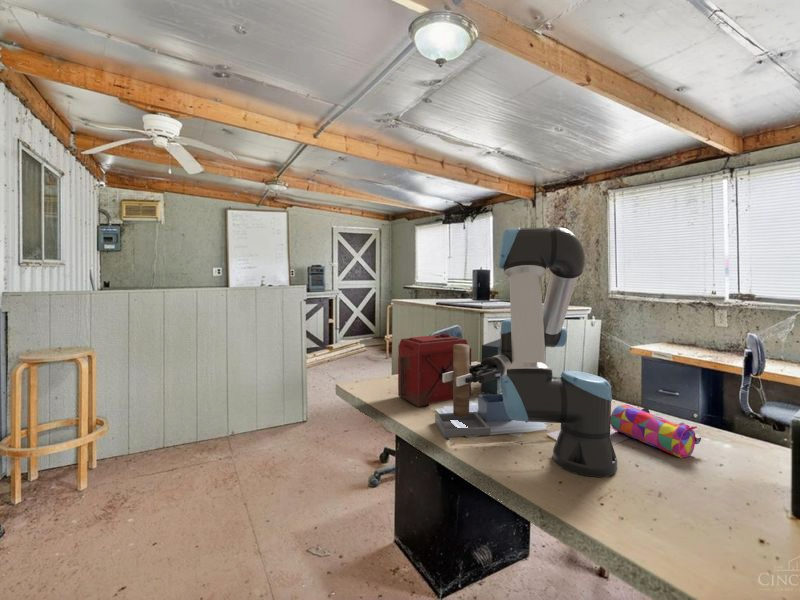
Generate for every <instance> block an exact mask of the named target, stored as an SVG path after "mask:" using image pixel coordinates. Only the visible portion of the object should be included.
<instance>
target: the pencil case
mask: <svg viewBox="0 0 800 600" xmlns="http://www.w3.org/2000/svg"><path fill="white" fill-rule="evenodd" d="M610 427H612V429H613V430H614V431H616V432H619V433H621V434H624V435H626V436H627V437H630V438H633V439H636V440H638V441H640V442H642V443H644V444H647V445H649V446H652V447H653V448H657V449H660V450H661V451H664V452H666V453H668V454H670V455H672V456H675V457H677V458H680V459H683V458H687V457H689V456H691V455H692V454H693V453H694V450H695V447H696V445H698V444H700V443H701V440H702V437H696V432H695V429H697V428H698V426H697V425H694V426H690V425H688V424H686V423H685V422H682V421H681V422H680V423H675V422H672V421H669V420H667V419H665V418H663V417H661V416H657V415H655V414H652V413H647V412H645V411H642V409H639V408H636V407H633V406H631V405H629V404H624V405H623V404H621V405H617V406H616V407H614V409H613V411H611V424H610Z"/></svg>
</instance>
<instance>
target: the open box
mask: <svg viewBox="0 0 800 600" xmlns="http://www.w3.org/2000/svg"><path fill="white" fill-rule="evenodd" d="M477 397H478V399H477V400H478V401H477V407H478V408H477V413H479V416H480V417H481V418H482V419H483V420H484V421H486V422H500V421H501V422H502V421H504V422H505V421H513V420H512V419H510V418H509V417H508V415H507V413H506V410H505V406H504V402H503V396H502V393H500V394H478V396H477Z"/></svg>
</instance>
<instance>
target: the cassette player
mask: <svg viewBox="0 0 800 600" xmlns="http://www.w3.org/2000/svg"><path fill="white" fill-rule="evenodd" d="M500 350H501V338H499V339H495V340H492V341H489V342H487V343H484V344H482V345H481V362H482V361H483V360H484V359H485V358H489V357H493V356H496V355H500ZM480 384H481V385H480V386H481V393H482V392H484V393H483V394H488V393H489V394H488V395H490V394H502V388H501V386H502V385H501V378H499V379H494V380H491V381H488V382H484V383H480Z"/></svg>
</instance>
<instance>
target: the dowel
mask: <svg viewBox="0 0 800 600" xmlns="http://www.w3.org/2000/svg"><path fill="white" fill-rule="evenodd" d="M469 348H470V345H469V344H468V345H467V344H455V345H453V399H452V401H453V403H452V404H453V406H452V407H453V408H452V409H453V410H452V411H453V412H452V413H453V414H454V415H455V416H459V417H466V416H468V415H469V412H470V394H469V383H468V384H465V385H462V386H459V387H458V386H456V377H459V376H463V375H466V374H469Z"/></svg>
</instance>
